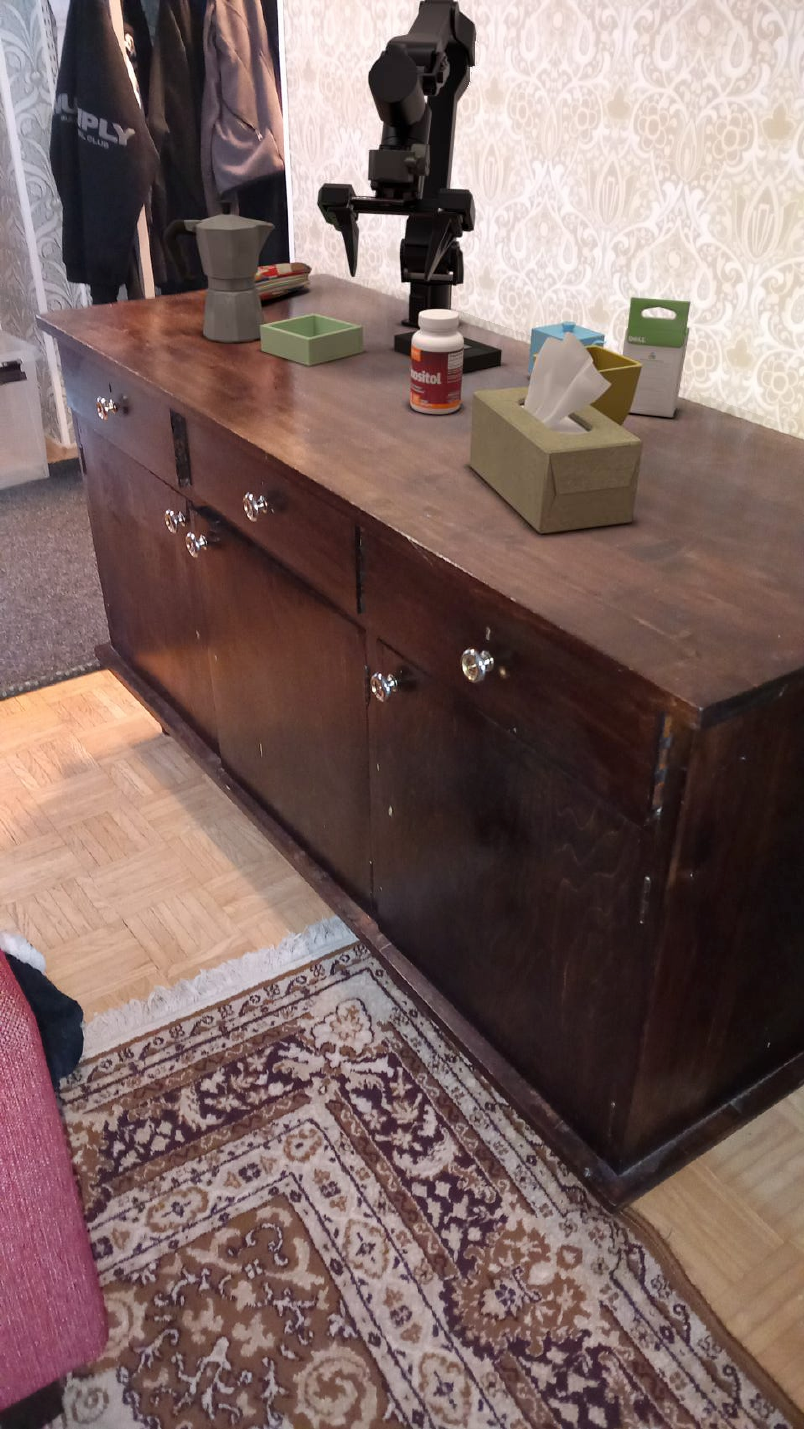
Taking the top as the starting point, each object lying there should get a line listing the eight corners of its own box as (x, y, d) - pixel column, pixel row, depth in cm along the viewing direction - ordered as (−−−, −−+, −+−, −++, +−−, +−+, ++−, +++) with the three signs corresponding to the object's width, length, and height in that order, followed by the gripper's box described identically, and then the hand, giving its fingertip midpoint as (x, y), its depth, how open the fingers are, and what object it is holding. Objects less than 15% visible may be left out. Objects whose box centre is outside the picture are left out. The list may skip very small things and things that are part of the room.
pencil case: (198, 301, 173) (195, 268, 170) (293, 284, 184) (292, 253, 181) (238, 314, 166) (235, 280, 164) (334, 295, 178) (334, 263, 175)
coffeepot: (276, 324, 161) (269, 193, 151) (284, 341, 154) (277, 204, 144) (172, 329, 158) (158, 195, 148) (175, 346, 151) (161, 206, 141)
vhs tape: (435, 341, 155) (435, 327, 154) (501, 365, 145) (502, 350, 144) (394, 349, 151) (394, 335, 150) (459, 374, 141) (460, 359, 140)
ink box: (676, 409, 131) (695, 294, 123) (672, 419, 127) (691, 302, 120) (620, 402, 132) (634, 289, 125) (614, 412, 129) (629, 296, 122)
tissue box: (634, 524, 102) (659, 355, 93) (540, 536, 99) (556, 363, 90) (551, 456, 117) (565, 305, 108) (467, 465, 114) (475, 311, 105)
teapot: (616, 392, 136) (624, 331, 132) (580, 400, 133) (587, 338, 129) (555, 368, 144) (561, 310, 140) (520, 375, 141) (524, 316, 137)
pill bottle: (399, 408, 130) (400, 313, 123) (431, 396, 134) (434, 304, 127) (439, 419, 126) (442, 322, 120) (471, 407, 130) (475, 313, 124)
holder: (315, 337, 156) (314, 312, 154) (363, 351, 150) (363, 326, 148) (261, 350, 149) (259, 325, 148) (309, 366, 144) (308, 339, 142)
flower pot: (568, 457, 116) (577, 373, 111) (524, 432, 123) (531, 352, 118) (633, 445, 120) (644, 364, 115) (587, 421, 126) (596, 344, 121)
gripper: (313, 110, 123) (298, 246, 124) (474, 115, 120) (457, 254, 121) (334, 158, 134) (320, 283, 135) (482, 164, 131) (467, 291, 132)
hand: (389, 277), depth 130 cm, fingers open, 9 cm apart
